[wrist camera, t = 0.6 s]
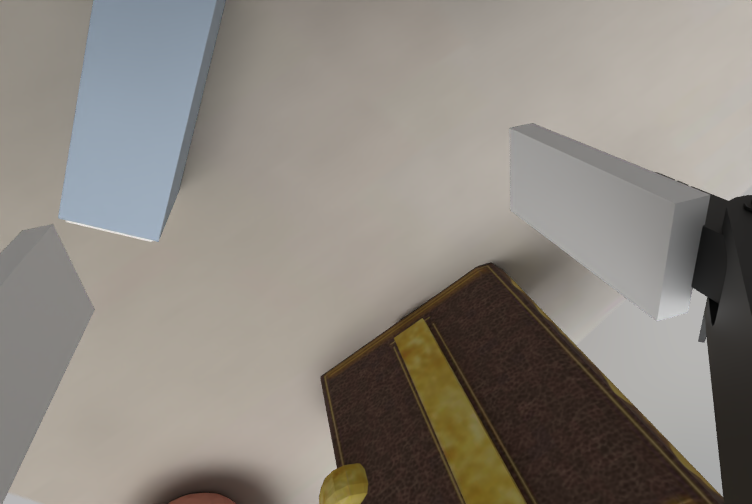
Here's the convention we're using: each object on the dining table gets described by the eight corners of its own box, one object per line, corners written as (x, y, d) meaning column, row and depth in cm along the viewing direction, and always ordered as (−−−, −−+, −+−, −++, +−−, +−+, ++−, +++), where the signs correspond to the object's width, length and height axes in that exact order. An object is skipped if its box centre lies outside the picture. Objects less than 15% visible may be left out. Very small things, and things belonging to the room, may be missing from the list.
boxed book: (102, 173, 34) (57, 222, 26) (144, -49, 30) (104, -71, 22) (178, 194, 36) (157, 245, 28) (229, -14, 31) (221, -22, 23)
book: (487, 246, 44) (726, 485, 22) (527, 308, 48) (762, 563, 26) (287, 387, 45) (320, 741, 23) (341, 436, 49) (413, 777, 27)
